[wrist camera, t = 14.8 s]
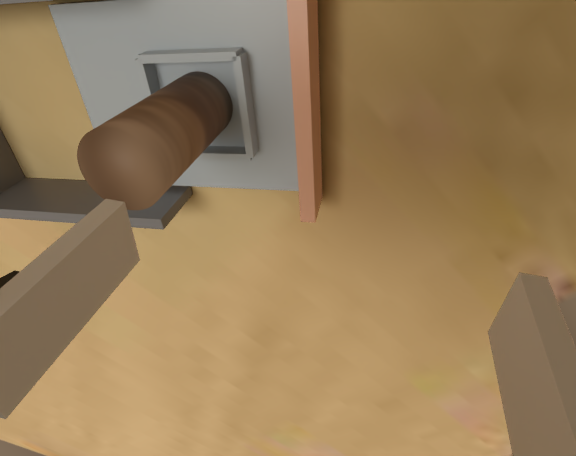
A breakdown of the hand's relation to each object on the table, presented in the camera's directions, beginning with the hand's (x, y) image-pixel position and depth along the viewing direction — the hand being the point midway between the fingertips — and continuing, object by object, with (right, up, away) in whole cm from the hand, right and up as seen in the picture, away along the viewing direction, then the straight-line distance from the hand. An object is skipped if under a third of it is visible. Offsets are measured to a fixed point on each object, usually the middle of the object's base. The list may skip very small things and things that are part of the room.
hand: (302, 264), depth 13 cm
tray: (-8, +12, +19) cm, 23 cm away
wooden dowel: (-7, +11, +18) cm, 22 cm away
